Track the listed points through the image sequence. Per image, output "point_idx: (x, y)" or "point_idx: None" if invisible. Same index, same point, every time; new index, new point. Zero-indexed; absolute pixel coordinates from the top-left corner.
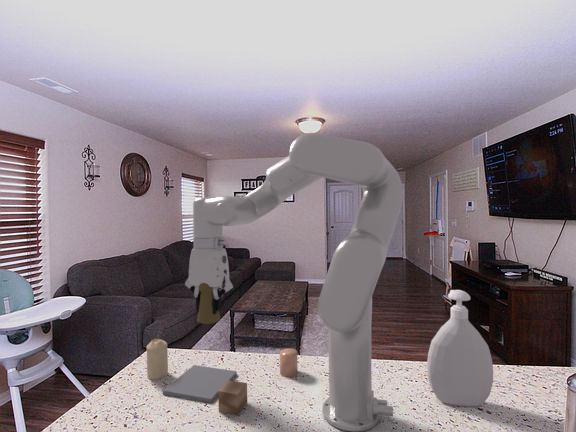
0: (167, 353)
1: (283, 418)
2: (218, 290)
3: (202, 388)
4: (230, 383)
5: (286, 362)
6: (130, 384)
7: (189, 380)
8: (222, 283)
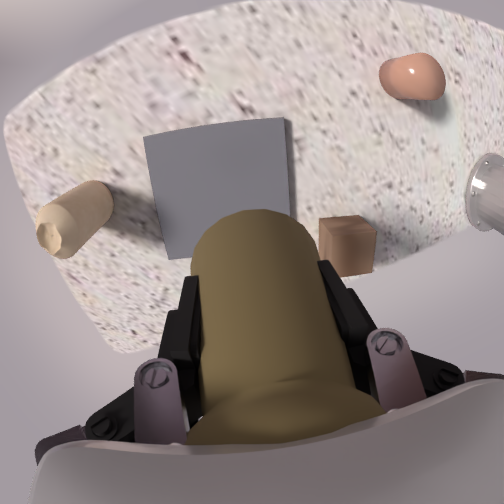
0: (82, 200)
1: (421, 231)
2: (381, 392)
3: None
4: (343, 246)
5: (420, 99)
6: (85, 254)
7: (191, 204)
8: (443, 402)
